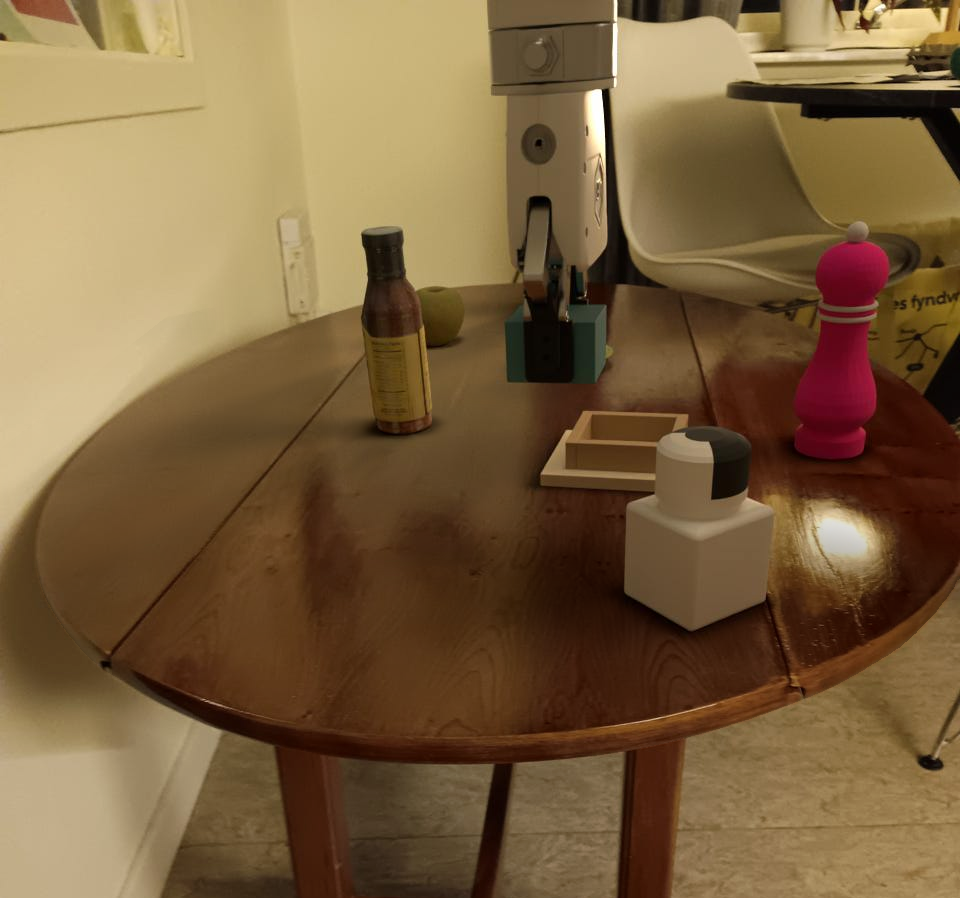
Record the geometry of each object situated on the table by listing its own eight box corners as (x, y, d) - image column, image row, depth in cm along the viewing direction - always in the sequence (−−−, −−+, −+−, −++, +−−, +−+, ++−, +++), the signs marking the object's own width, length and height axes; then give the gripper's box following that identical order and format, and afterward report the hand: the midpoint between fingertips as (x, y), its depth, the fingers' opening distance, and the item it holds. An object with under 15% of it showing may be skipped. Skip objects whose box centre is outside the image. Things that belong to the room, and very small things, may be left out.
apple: (477, 342, 135) (474, 287, 131) (431, 354, 130) (426, 298, 127) (442, 333, 140) (439, 280, 136) (397, 345, 135) (392, 290, 132)
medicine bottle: (695, 566, 74) (706, 410, 68) (767, 602, 69) (785, 436, 63) (621, 594, 71) (625, 433, 65) (690, 634, 66) (702, 463, 60)
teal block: (606, 363, 69) (606, 304, 67) (595, 384, 65) (595, 322, 63) (522, 362, 71) (520, 304, 69) (506, 382, 67) (504, 322, 65)
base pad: (708, 447, 95) (711, 409, 94) (698, 495, 86) (701, 454, 84) (566, 441, 99) (565, 405, 97) (540, 486, 89) (539, 447, 87)
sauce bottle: (400, 414, 109) (381, 221, 99) (445, 422, 106) (430, 224, 96) (361, 432, 105) (337, 232, 94) (407, 441, 101) (387, 235, 91)
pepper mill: (885, 449, 93) (923, 219, 82) (834, 468, 89) (867, 231, 79) (822, 430, 98) (851, 212, 88) (772, 447, 94) (795, 223, 84)
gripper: (593, 64, 51) (592, 409, 60) (633, 56, 65) (628, 337, 74) (453, 72, 53) (473, 406, 62) (521, 63, 67) (530, 337, 76)
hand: (557, 366), depth 68 cm, fingers closed on teal block, 5 cm apart
